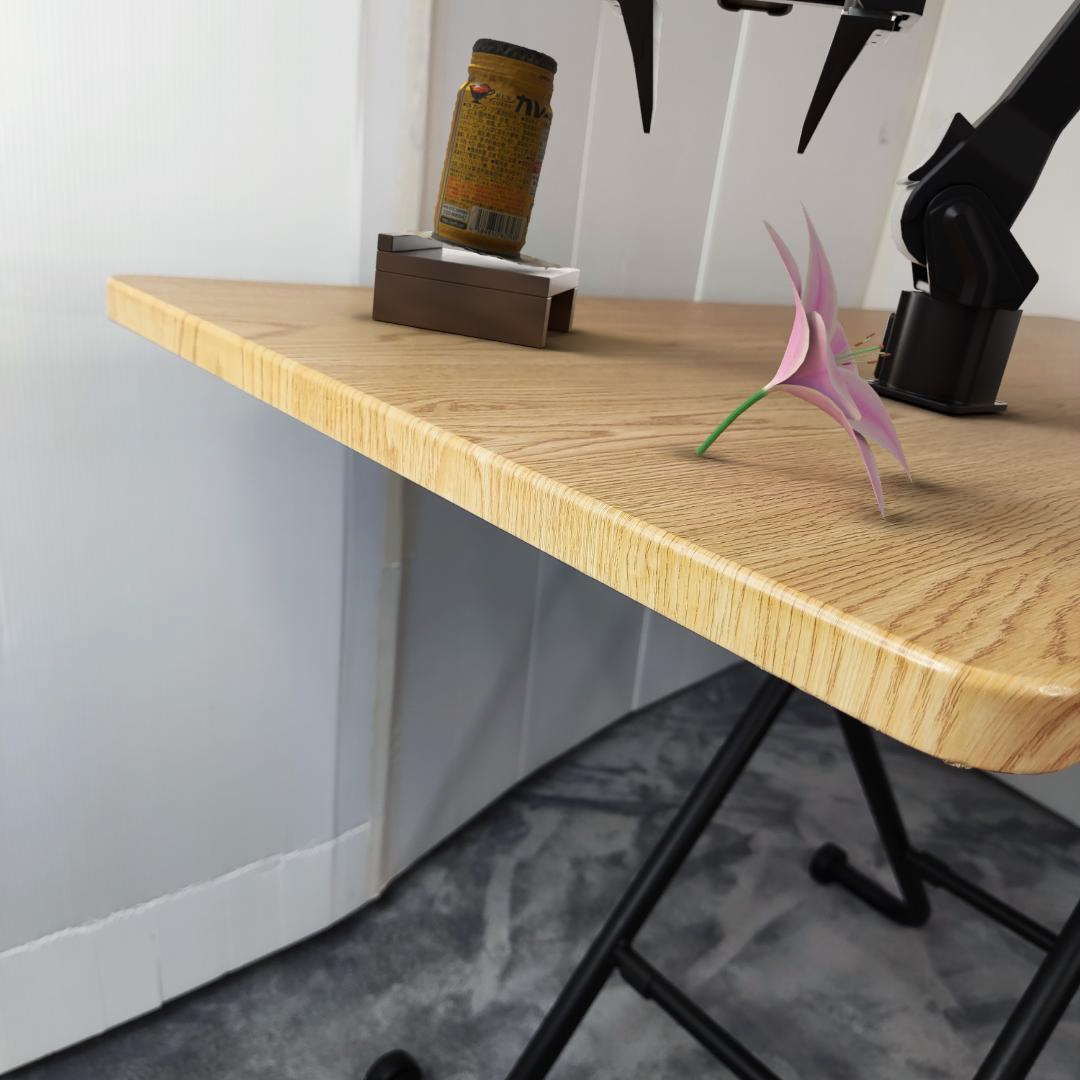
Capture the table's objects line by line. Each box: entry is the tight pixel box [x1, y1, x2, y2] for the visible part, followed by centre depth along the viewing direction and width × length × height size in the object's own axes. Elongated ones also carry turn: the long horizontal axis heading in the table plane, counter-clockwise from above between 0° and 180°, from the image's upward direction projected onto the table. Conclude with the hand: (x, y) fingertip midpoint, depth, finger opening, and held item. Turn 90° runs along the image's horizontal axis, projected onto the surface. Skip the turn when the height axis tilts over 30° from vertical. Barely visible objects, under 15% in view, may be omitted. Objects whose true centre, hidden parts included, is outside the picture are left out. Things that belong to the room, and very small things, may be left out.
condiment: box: [400, 37, 567, 270], centre depth 59 cm, size 7×8×12 cm
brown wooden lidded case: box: [371, 230, 581, 349], centre depth 62 cm, size 11×10×5 cm
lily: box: [695, 200, 913, 518], centre depth 36 cm, size 12×12×10 cm
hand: (722, 143), depth 57 cm, fingers open, 9 cm apart
